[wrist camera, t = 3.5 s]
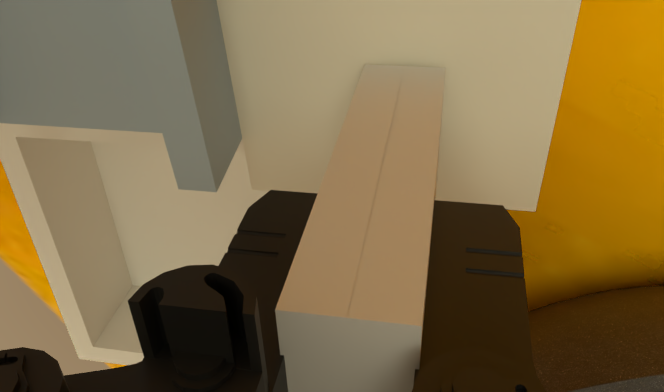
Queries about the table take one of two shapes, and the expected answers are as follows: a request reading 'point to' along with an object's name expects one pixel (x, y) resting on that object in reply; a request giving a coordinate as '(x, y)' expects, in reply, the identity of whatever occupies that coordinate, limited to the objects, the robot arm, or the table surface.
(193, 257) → the dish
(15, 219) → the table surface
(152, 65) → the ramp
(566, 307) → the bowl
